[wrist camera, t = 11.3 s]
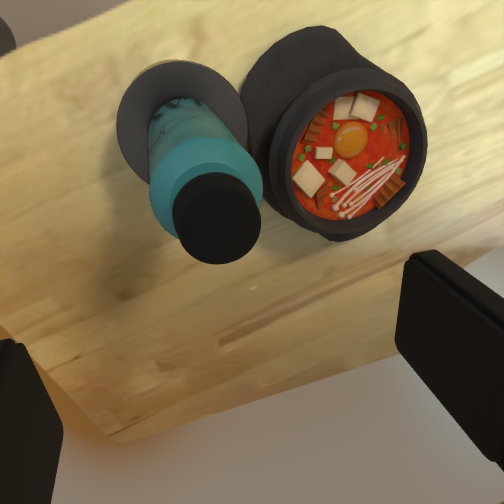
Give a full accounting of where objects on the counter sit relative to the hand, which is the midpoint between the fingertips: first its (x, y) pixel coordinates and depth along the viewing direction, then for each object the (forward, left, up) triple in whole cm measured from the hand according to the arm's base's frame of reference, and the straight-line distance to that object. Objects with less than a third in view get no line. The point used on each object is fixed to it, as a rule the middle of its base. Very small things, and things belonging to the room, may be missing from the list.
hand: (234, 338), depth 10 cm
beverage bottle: (+1, -1, -29) cm, 29 cm away
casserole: (+17, -6, -36) cm, 40 cm away
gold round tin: (+1, -1, -35) cm, 35 cm away
